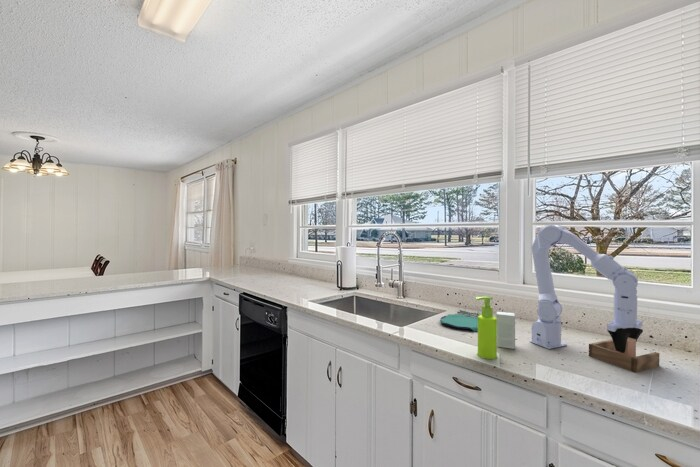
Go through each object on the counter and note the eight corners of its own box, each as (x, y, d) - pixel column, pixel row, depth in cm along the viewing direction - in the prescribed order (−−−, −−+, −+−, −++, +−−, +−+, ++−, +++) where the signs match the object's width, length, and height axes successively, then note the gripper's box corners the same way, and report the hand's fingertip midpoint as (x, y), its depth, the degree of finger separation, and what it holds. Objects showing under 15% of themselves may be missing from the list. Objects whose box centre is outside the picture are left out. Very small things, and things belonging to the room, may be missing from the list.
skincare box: (514, 345, 115) (514, 312, 115) (515, 349, 111) (515, 316, 111) (496, 342, 117) (496, 311, 117) (496, 346, 114) (496, 314, 113)
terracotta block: (627, 359, 99) (628, 340, 99) (613, 354, 103) (613, 336, 103) (635, 357, 100) (636, 339, 100) (621, 353, 104) (621, 335, 104)
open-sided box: (634, 372, 93) (635, 359, 93) (588, 355, 105) (588, 343, 105) (659, 366, 97) (659, 353, 97) (612, 350, 109) (612, 339, 109)
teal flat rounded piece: (433, 326, 138) (433, 320, 138) (456, 312, 162) (456, 307, 162) (480, 336, 126) (480, 330, 126) (498, 319, 150) (498, 314, 150)
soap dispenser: (471, 352, 109) (471, 295, 108) (490, 351, 109) (490, 294, 109) (480, 359, 103) (480, 299, 102) (500, 358, 103) (500, 298, 103)
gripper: (625, 314, 95) (624, 358, 95) (654, 309, 100) (653, 351, 100) (599, 308, 102) (599, 350, 102) (628, 304, 107) (627, 344, 107)
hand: (624, 350), depth 101 cm, fingers closed on terracotta block, 4 cm apart
